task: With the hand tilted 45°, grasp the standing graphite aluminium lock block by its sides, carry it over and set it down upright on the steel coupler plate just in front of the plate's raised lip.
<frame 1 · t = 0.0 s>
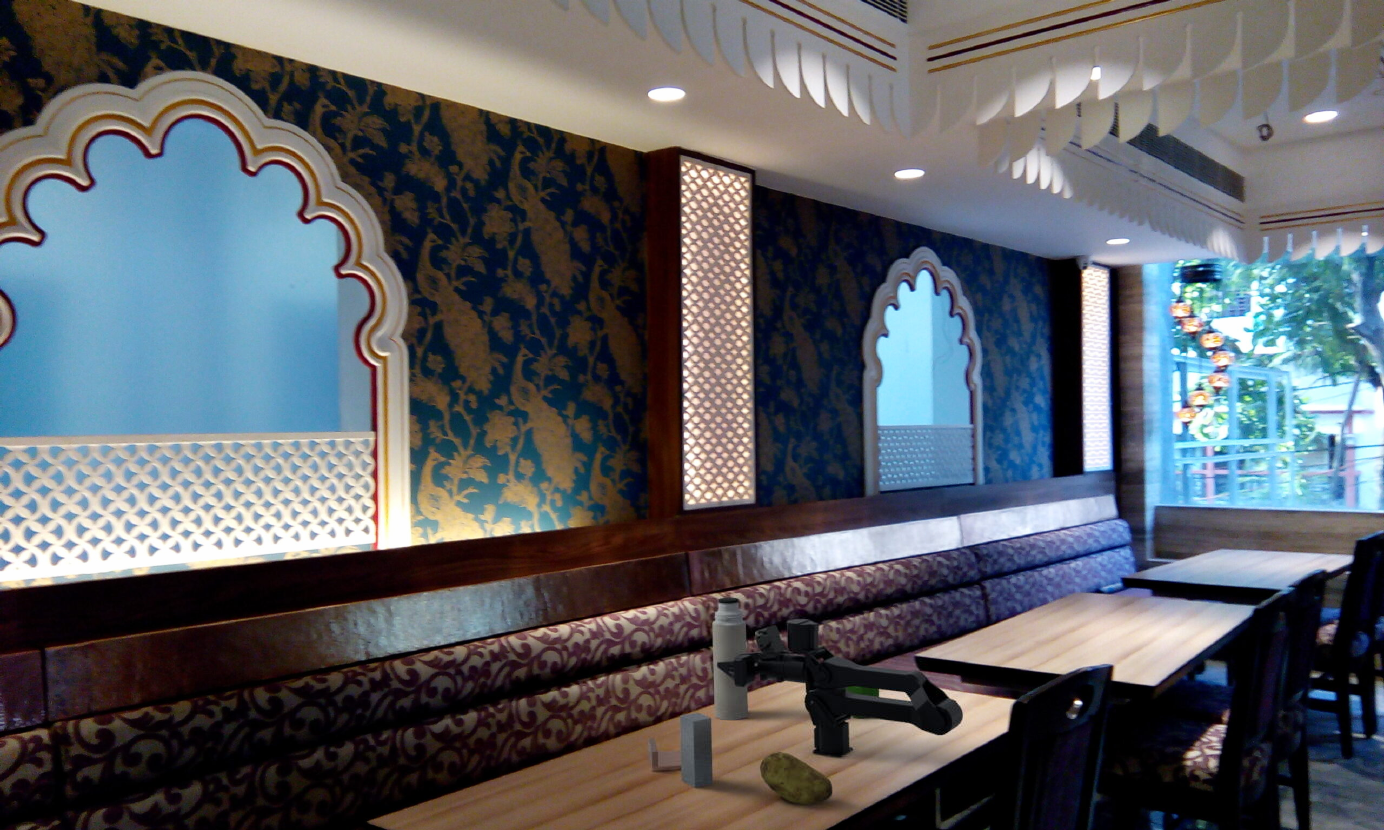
hand: (728, 660, 227), 17 cm above the table, tool horizontal, fingers open, 9 cm apart
potato: (795, 800, 184), on the table
coupler plate: (674, 761, 208), on the table
bell pepper: (861, 716, 240), on the table
thermos bottle: (731, 716, 243), on the table
lock block: (697, 782, 195), on the table
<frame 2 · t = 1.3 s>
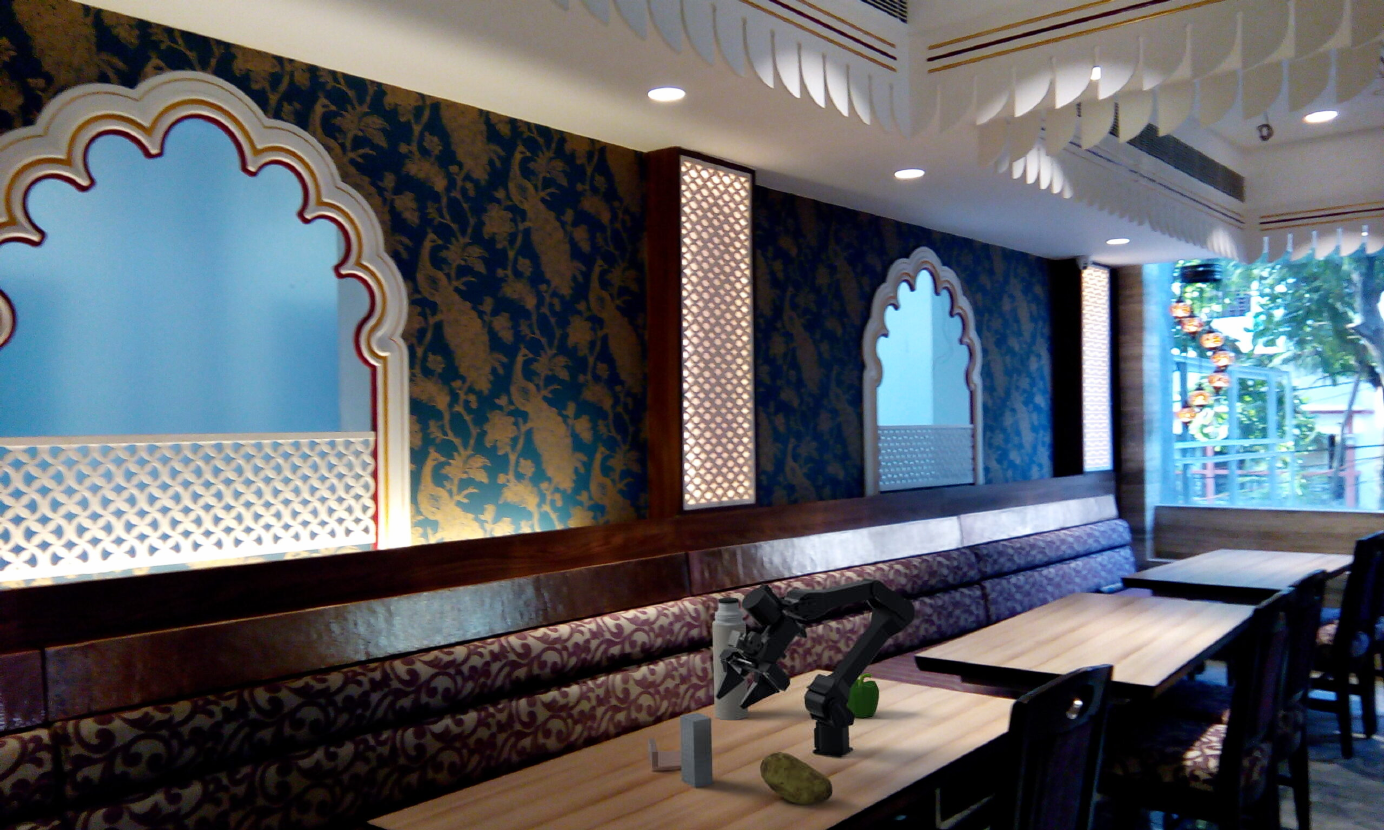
hand: (729, 702, 200), 14 cm above the table, tool tilted 45°, fingers open, 9 cm apart
nothing on the table moved.
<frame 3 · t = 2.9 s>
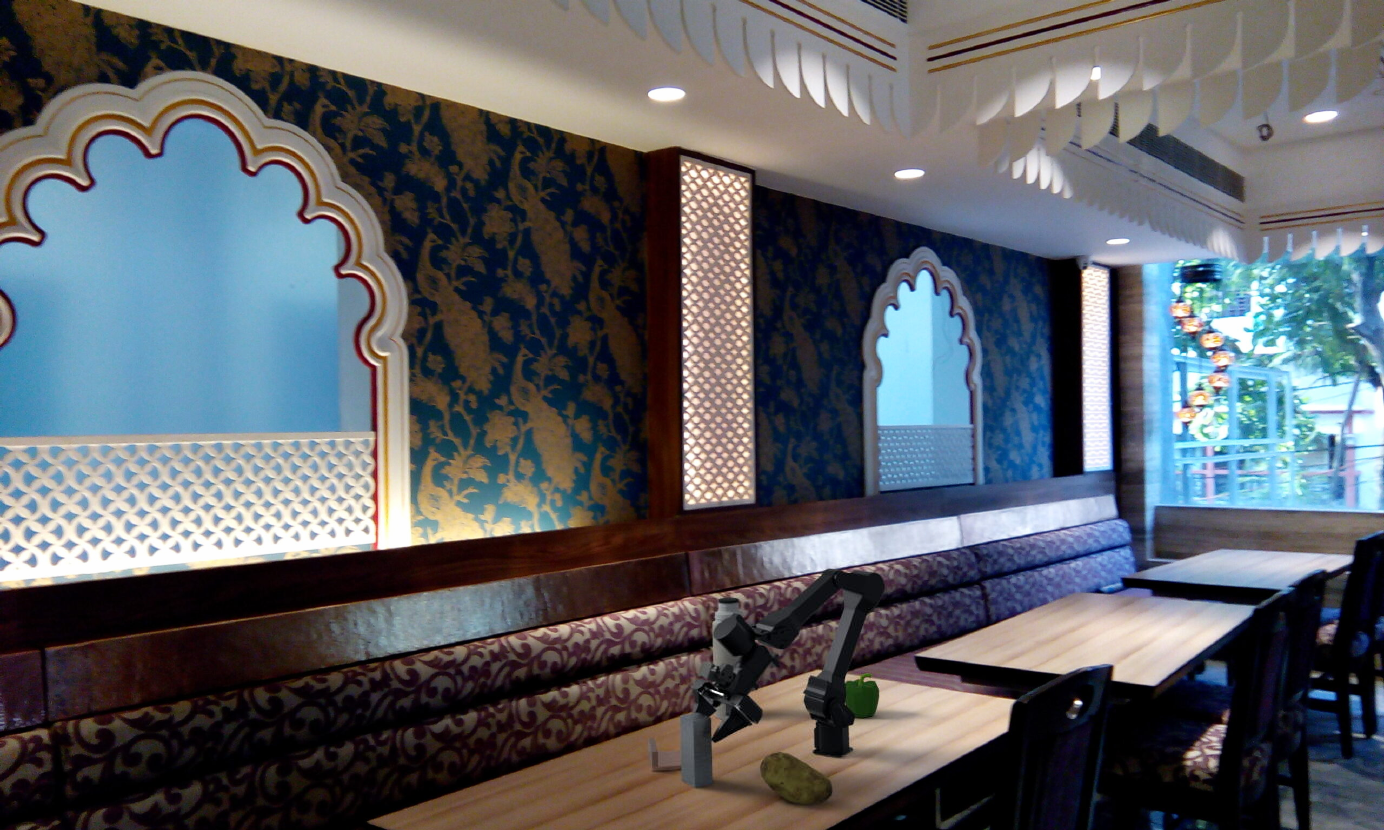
hand: (700, 735, 196), 9 cm above the table, tool tilted 45°, fingers open, 9 cm apart
nothing on the table moved.
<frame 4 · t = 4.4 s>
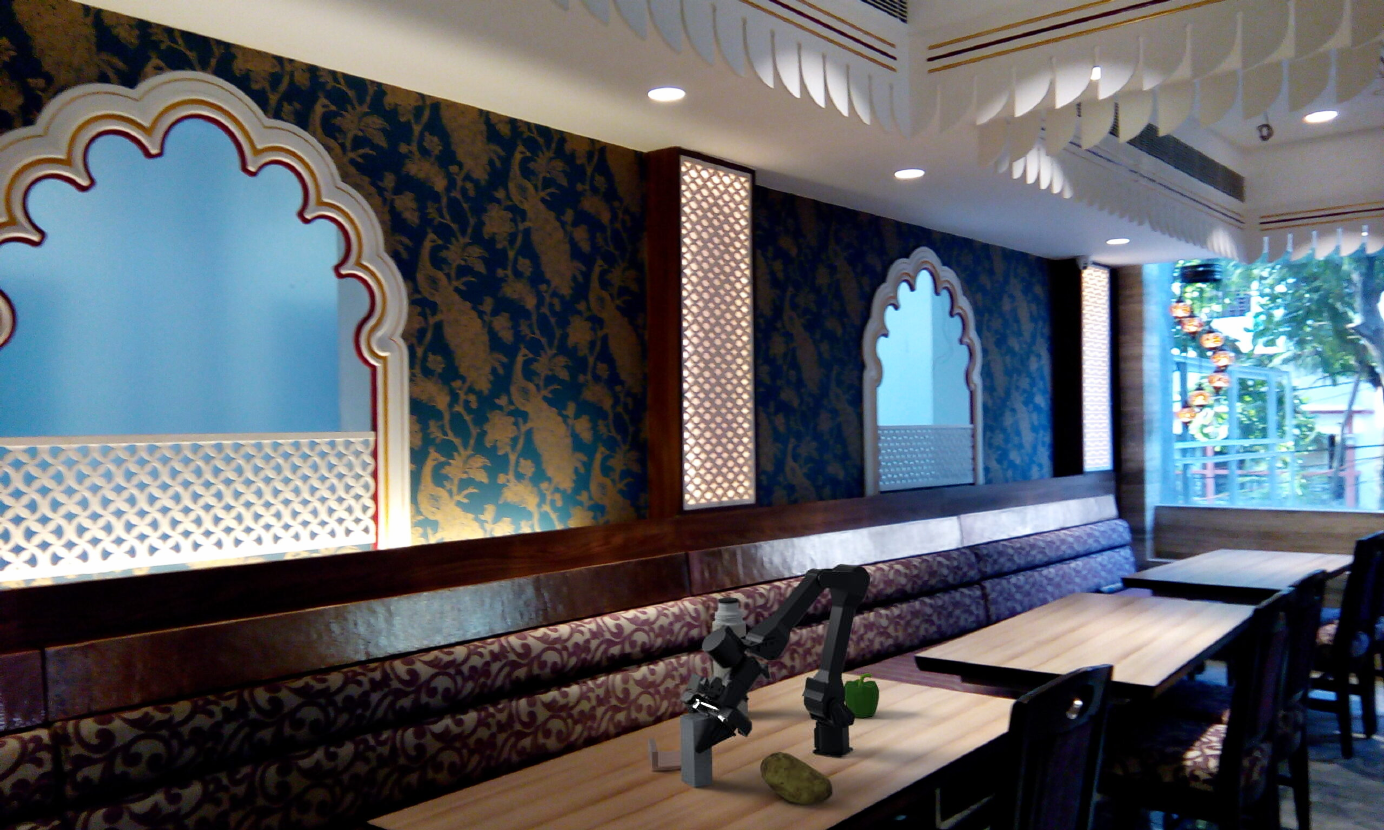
hand: (690, 748, 195), 7 cm above the table, tool tilted 45°, fingers closed on lock block, 5 cm apart
lock block: (697, 781, 195), on the table, touching gripper
everything else where it was.
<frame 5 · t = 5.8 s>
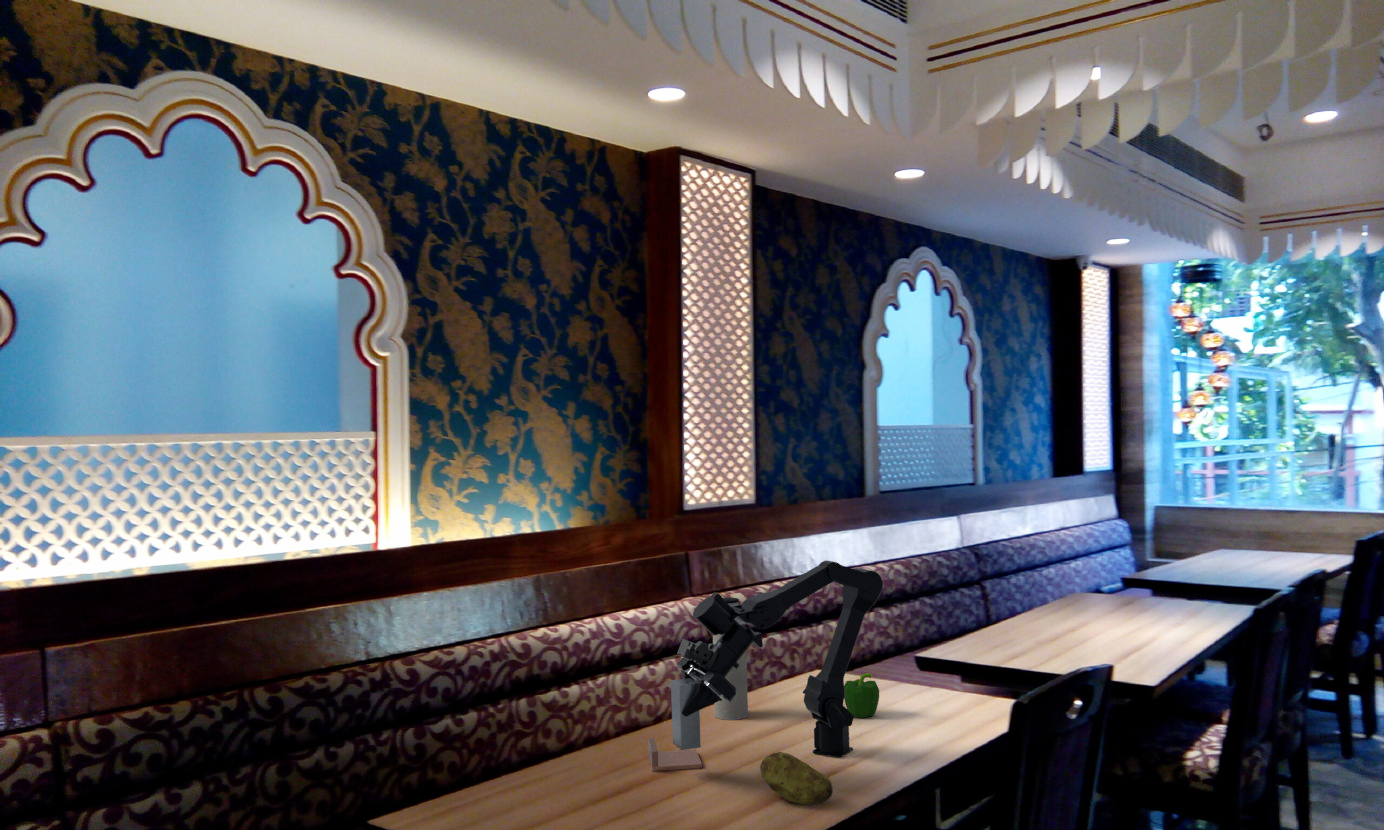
hand: (679, 711, 201), 12 cm above the table, tool tilted 45°, fingers closed on lock block, 5 cm apart
lock block: (686, 745, 201), point 6 cm above the table, touching gripper
everything else where it was.
when the fingers open (9 cm above the table, at t = 7.6 s): lock block stays where it is, resting on coupler plate.
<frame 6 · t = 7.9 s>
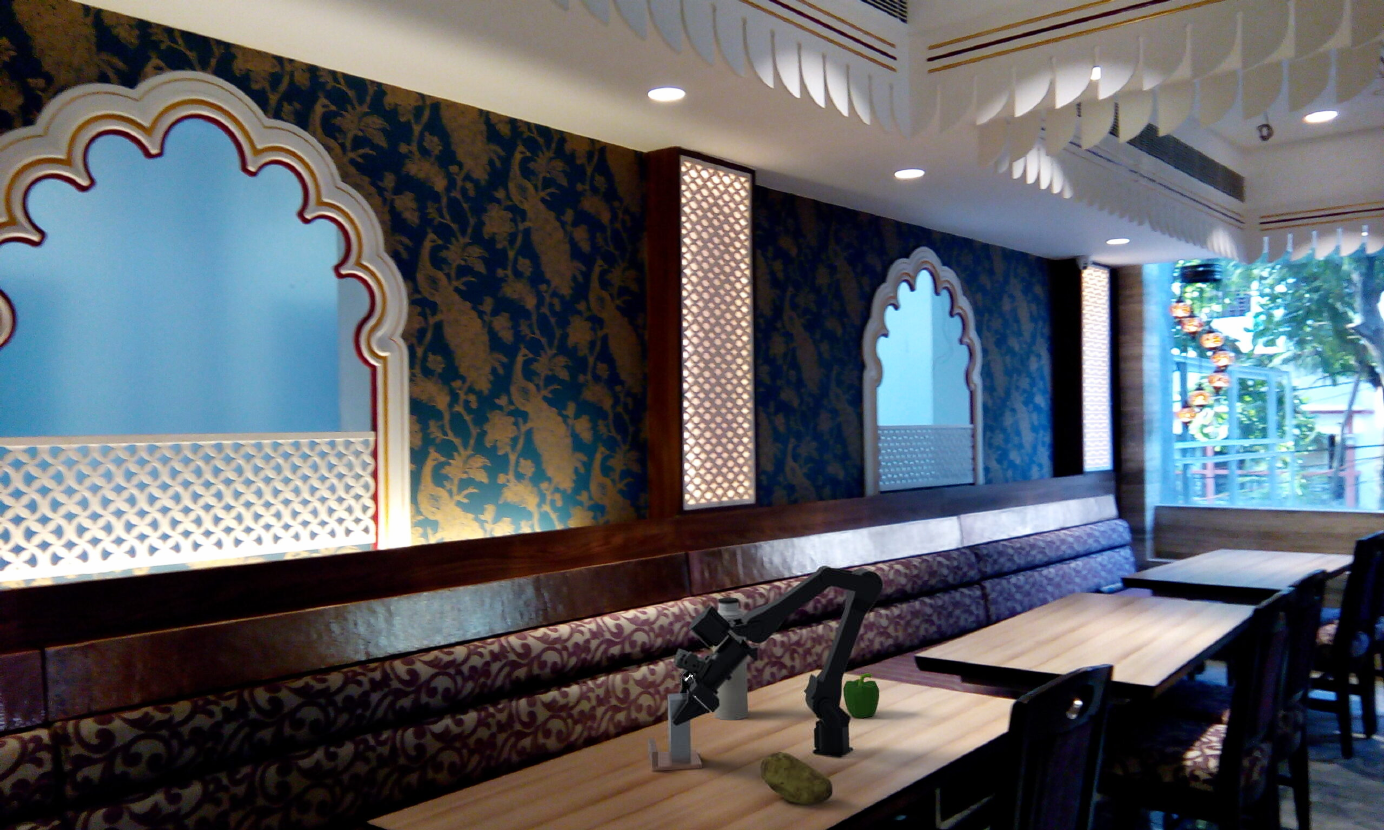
hand: (672, 718, 208), 9 cm above the table, tool tilted 45°, fingers open, 8 cm apart
lock block: (679, 757, 208), point 1 cm above the table, touching coupler plate
everything else where it was.
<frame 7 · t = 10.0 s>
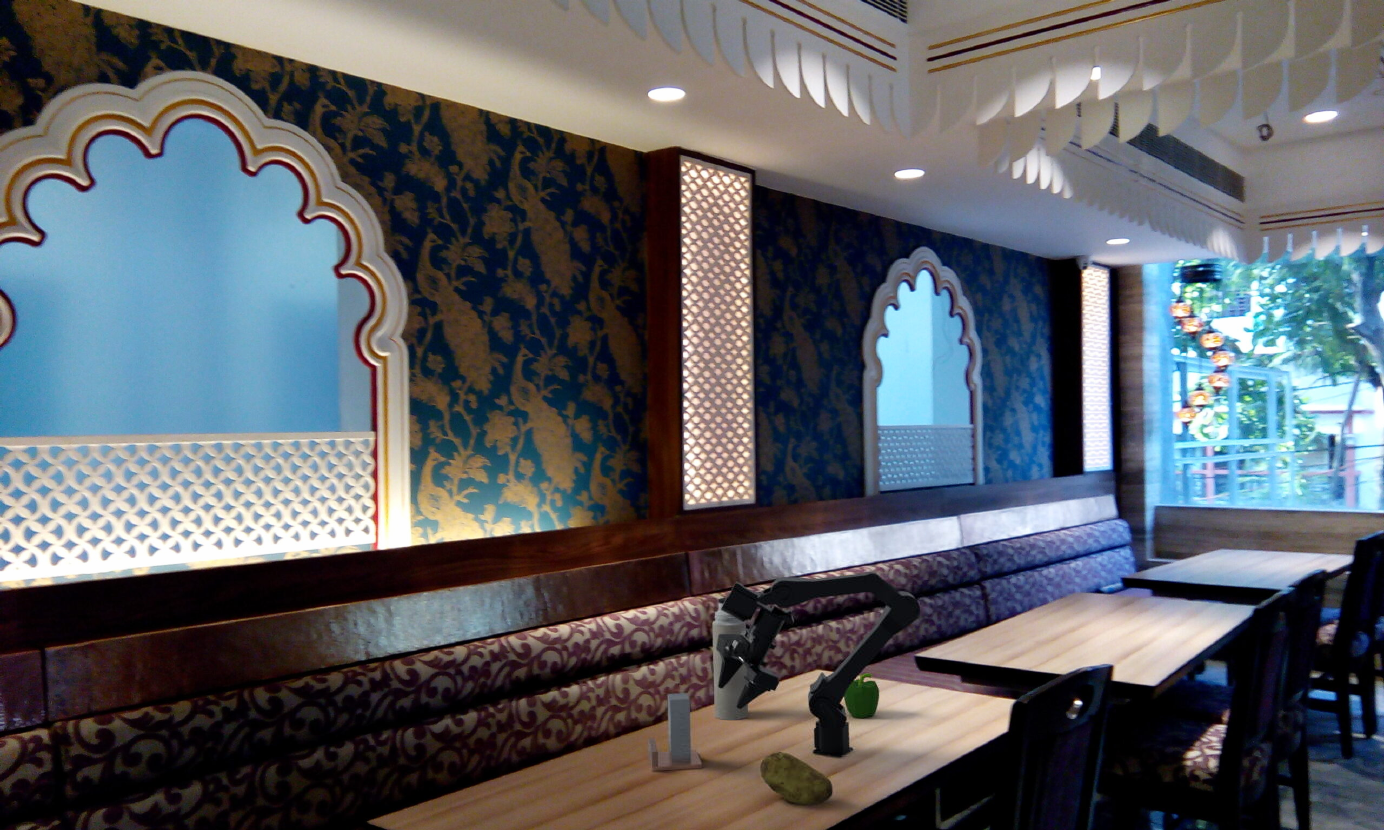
hand: (728, 697, 215), 11 cm above the table, tool tilted 30°, fingers open, 9 cm apart
nothing on the table moved.
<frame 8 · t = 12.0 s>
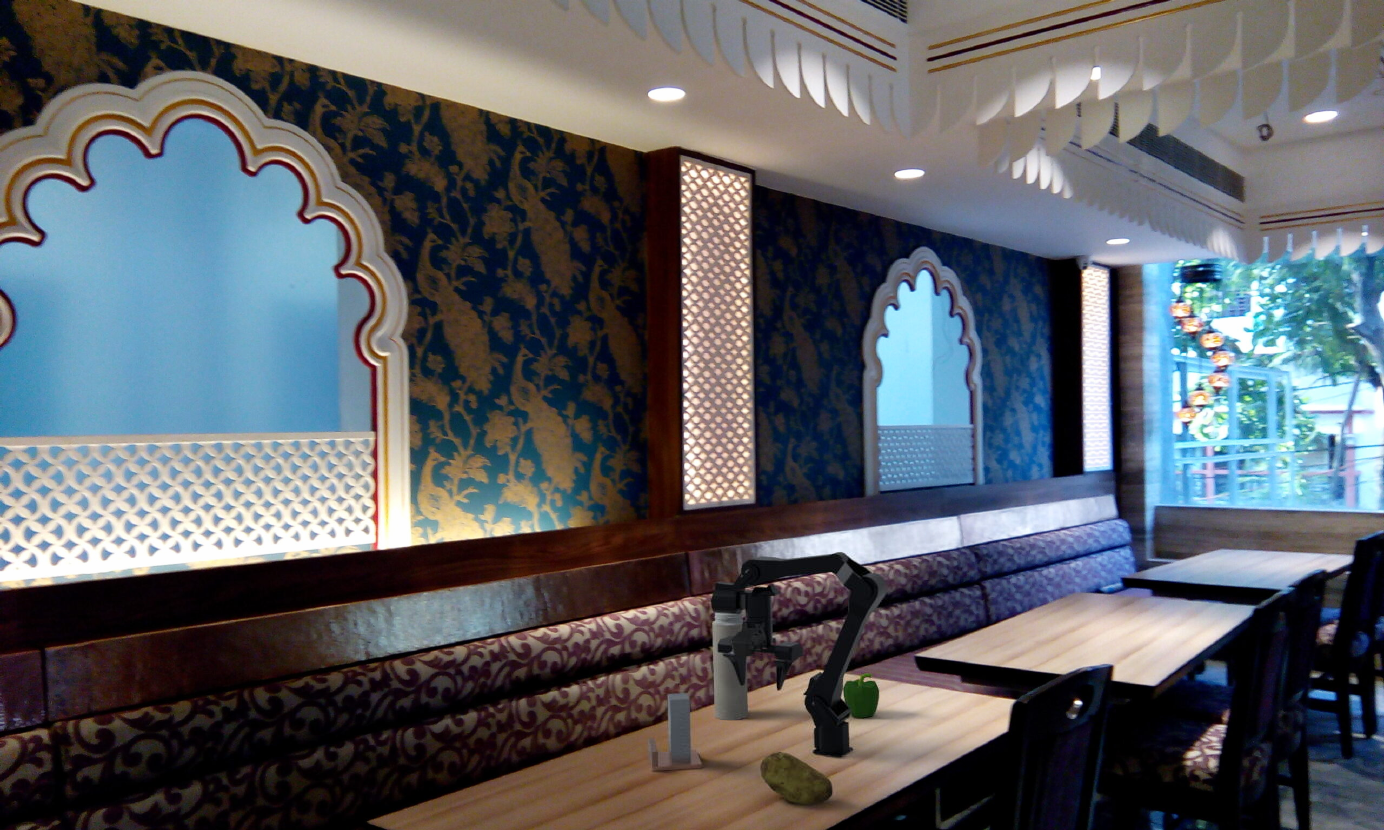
hand: (760, 687, 220), 12 cm above the table, tool pointing down, fingers open, 9 cm apart
nothing on the table moved.
at the end: lock block inside the target area on the coupler plate (1.1 cm from its centre), point 0.8 cm above the coupler plate's base; lock block tilted 0°; the gripper is holding nothing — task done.
